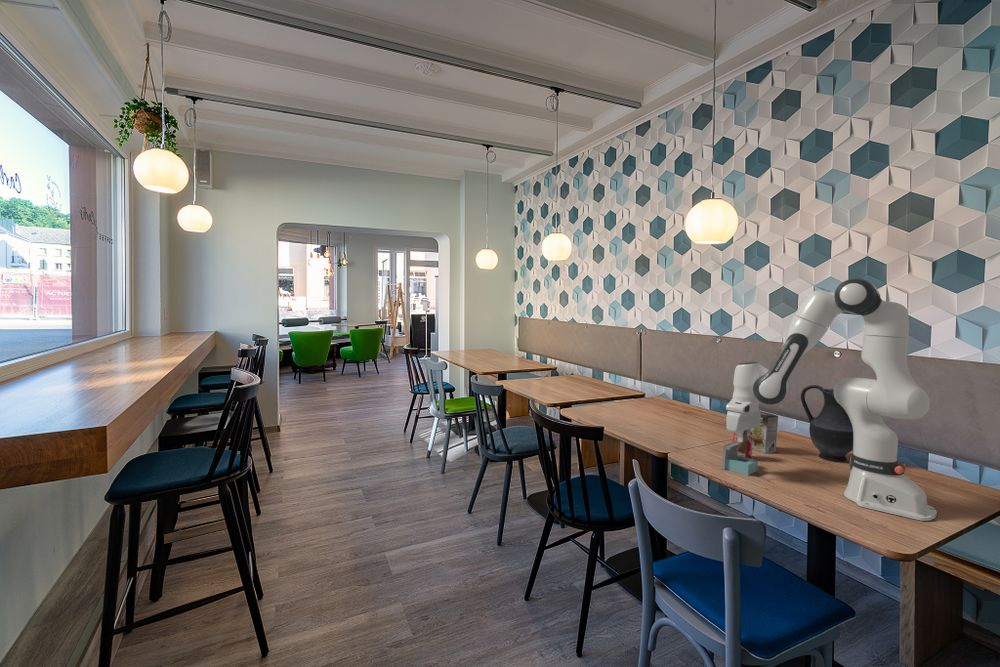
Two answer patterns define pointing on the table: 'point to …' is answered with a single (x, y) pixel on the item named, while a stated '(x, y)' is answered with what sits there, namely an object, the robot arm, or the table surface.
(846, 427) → the pitcher
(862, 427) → the robot arm
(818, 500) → the table surface
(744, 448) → the peg
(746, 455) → the soda can
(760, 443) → the coffee box
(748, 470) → the socket station
